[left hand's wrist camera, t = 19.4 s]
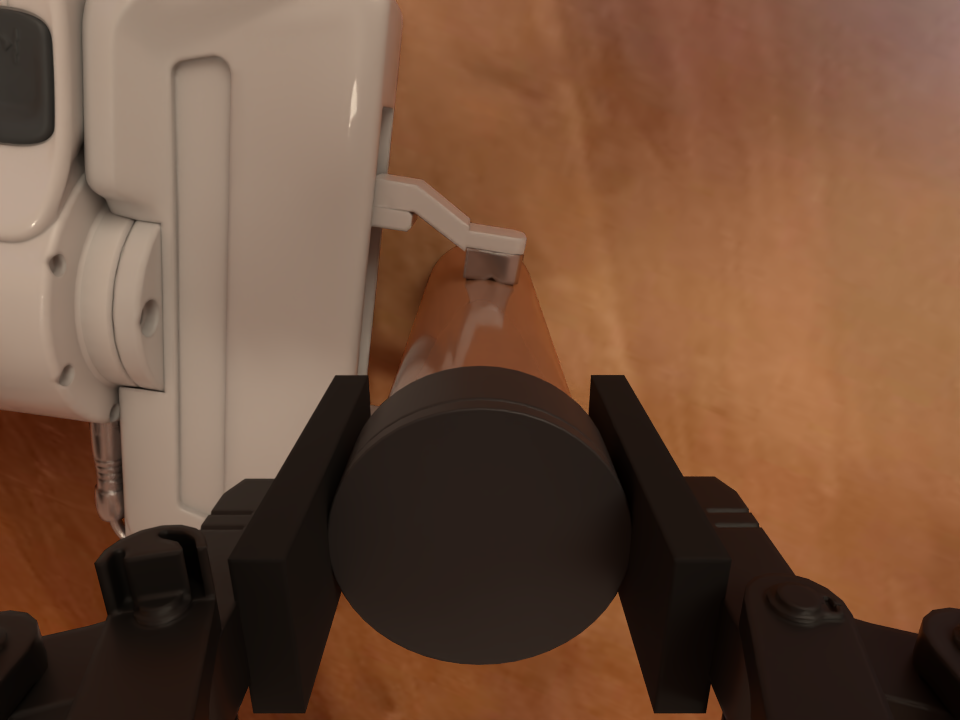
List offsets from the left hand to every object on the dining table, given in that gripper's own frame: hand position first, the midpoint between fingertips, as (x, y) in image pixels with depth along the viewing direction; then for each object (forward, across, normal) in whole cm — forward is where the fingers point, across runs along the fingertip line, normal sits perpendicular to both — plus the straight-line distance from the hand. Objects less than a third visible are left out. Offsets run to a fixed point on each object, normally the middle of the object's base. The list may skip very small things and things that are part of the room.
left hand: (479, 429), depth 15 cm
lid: (-4, 0, 0) cm, 4 cm away
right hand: (+7, -1, 0) cm, 7 cm away
